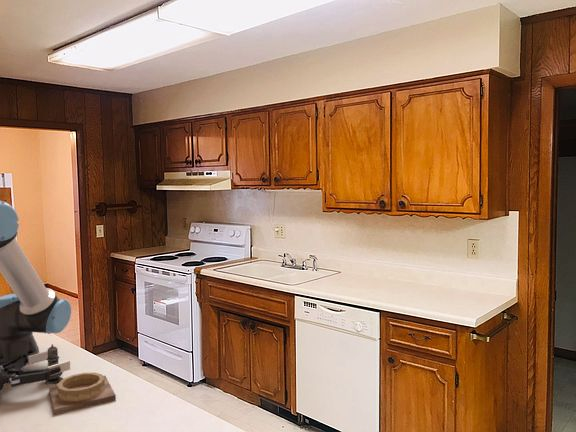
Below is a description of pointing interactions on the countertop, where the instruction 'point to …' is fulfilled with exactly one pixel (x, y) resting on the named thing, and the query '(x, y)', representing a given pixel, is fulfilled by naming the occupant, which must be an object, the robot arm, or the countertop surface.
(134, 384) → the countertop surface
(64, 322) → the robot arm
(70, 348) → the countertop surface
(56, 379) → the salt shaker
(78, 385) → the collar stand
